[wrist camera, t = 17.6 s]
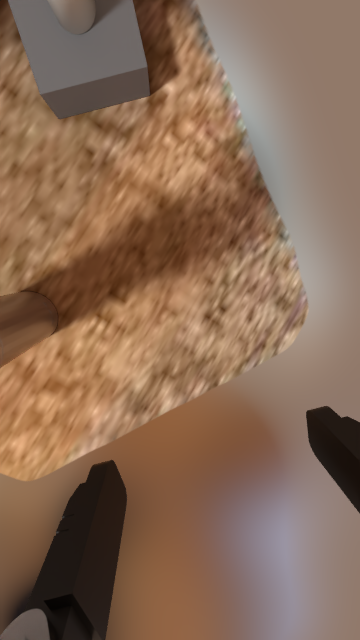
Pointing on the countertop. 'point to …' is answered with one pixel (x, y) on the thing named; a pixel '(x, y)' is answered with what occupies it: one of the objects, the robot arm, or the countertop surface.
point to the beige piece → (74, 14)
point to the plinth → (84, 56)
